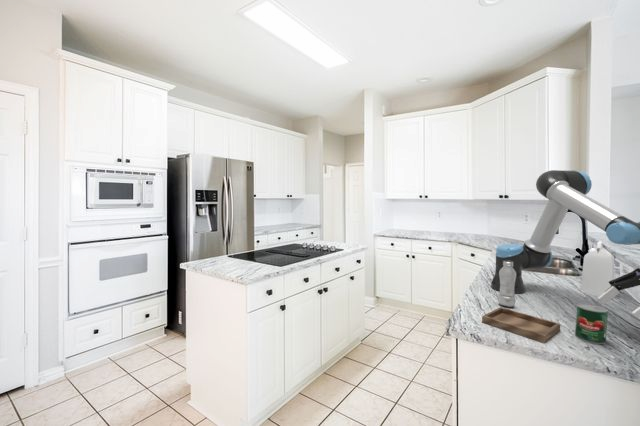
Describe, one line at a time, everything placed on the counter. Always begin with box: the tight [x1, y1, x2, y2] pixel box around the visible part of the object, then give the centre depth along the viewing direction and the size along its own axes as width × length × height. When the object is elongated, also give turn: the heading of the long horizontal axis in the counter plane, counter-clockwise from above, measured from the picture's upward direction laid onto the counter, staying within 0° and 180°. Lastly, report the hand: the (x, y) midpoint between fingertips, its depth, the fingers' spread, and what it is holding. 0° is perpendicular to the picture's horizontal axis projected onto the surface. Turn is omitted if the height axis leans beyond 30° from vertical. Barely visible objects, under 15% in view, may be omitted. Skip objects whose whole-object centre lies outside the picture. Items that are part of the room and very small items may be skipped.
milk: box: [580, 241, 615, 297], centre depth 151 cm, size 12×12×26 cm
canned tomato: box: [574, 302, 609, 345], centre depth 101 cm, size 8×8×11 cm
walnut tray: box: [481, 307, 561, 344], centre depth 110 cm, size 20×16×2 cm
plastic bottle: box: [497, 261, 516, 308], centre depth 131 cm, size 6×7×20 cm
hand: (617, 308), depth 99 cm, fingers open, 13 cm apart
